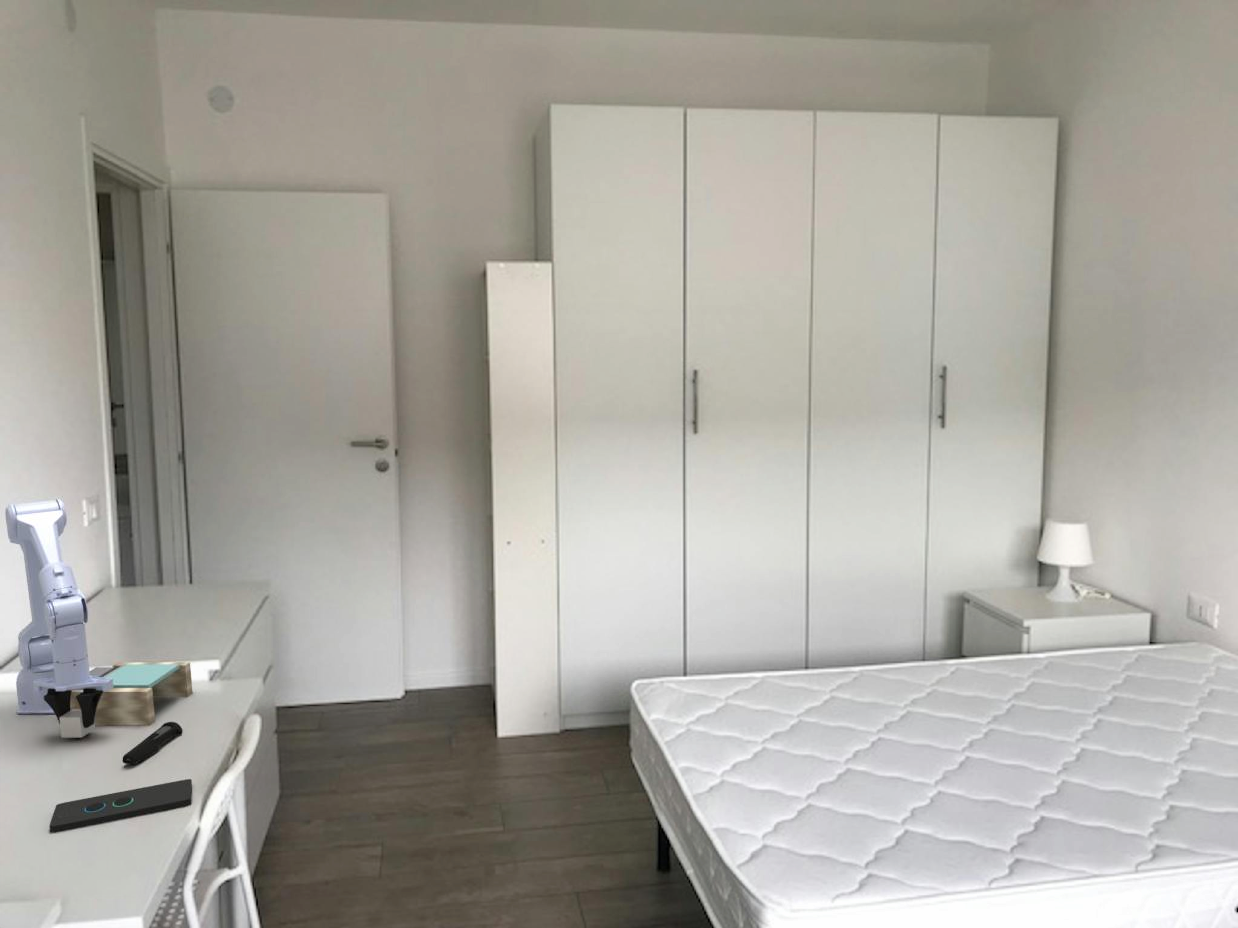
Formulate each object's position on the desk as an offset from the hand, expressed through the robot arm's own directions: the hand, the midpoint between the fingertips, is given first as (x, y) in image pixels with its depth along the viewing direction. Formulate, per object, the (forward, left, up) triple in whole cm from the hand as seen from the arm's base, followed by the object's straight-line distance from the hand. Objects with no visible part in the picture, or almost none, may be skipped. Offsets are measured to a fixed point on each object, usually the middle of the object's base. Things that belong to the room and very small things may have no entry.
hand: (77, 725), depth 176 cm
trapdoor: (+1, +14, +2) cm, 14 cm away
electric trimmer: (+18, -5, -3) cm, 19 cm away
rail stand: (+3, +14, -2) cm, 14 cm away
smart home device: (+25, -27, -3) cm, 37 cm away
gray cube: (0, 0, -2) cm, 2 cm away
